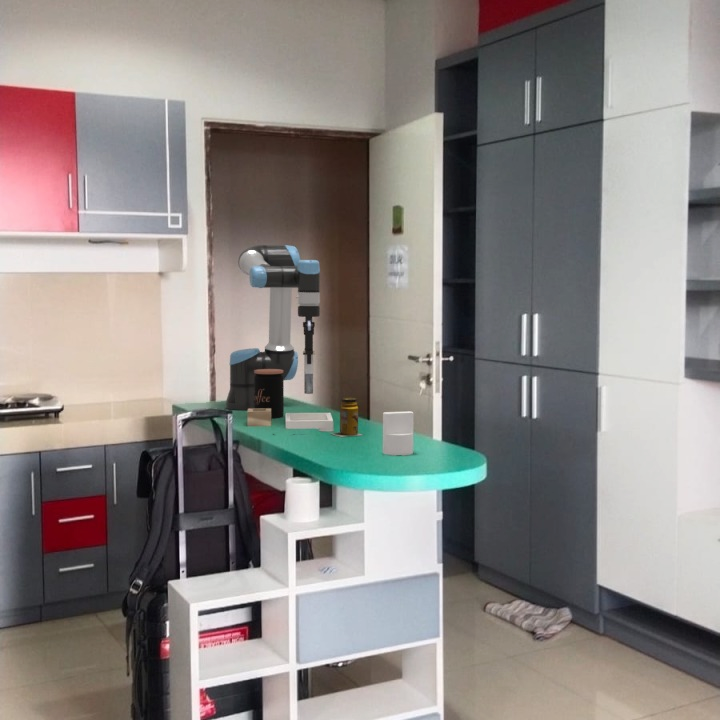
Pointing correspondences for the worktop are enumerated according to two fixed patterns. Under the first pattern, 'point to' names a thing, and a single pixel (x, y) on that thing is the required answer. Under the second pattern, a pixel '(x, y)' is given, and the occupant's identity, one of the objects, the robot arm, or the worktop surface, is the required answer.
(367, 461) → the worktop surface
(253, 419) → the block
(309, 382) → the steel pin
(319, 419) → the tray
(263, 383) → the coffee jar
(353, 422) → the condiment
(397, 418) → the base with upright slab
